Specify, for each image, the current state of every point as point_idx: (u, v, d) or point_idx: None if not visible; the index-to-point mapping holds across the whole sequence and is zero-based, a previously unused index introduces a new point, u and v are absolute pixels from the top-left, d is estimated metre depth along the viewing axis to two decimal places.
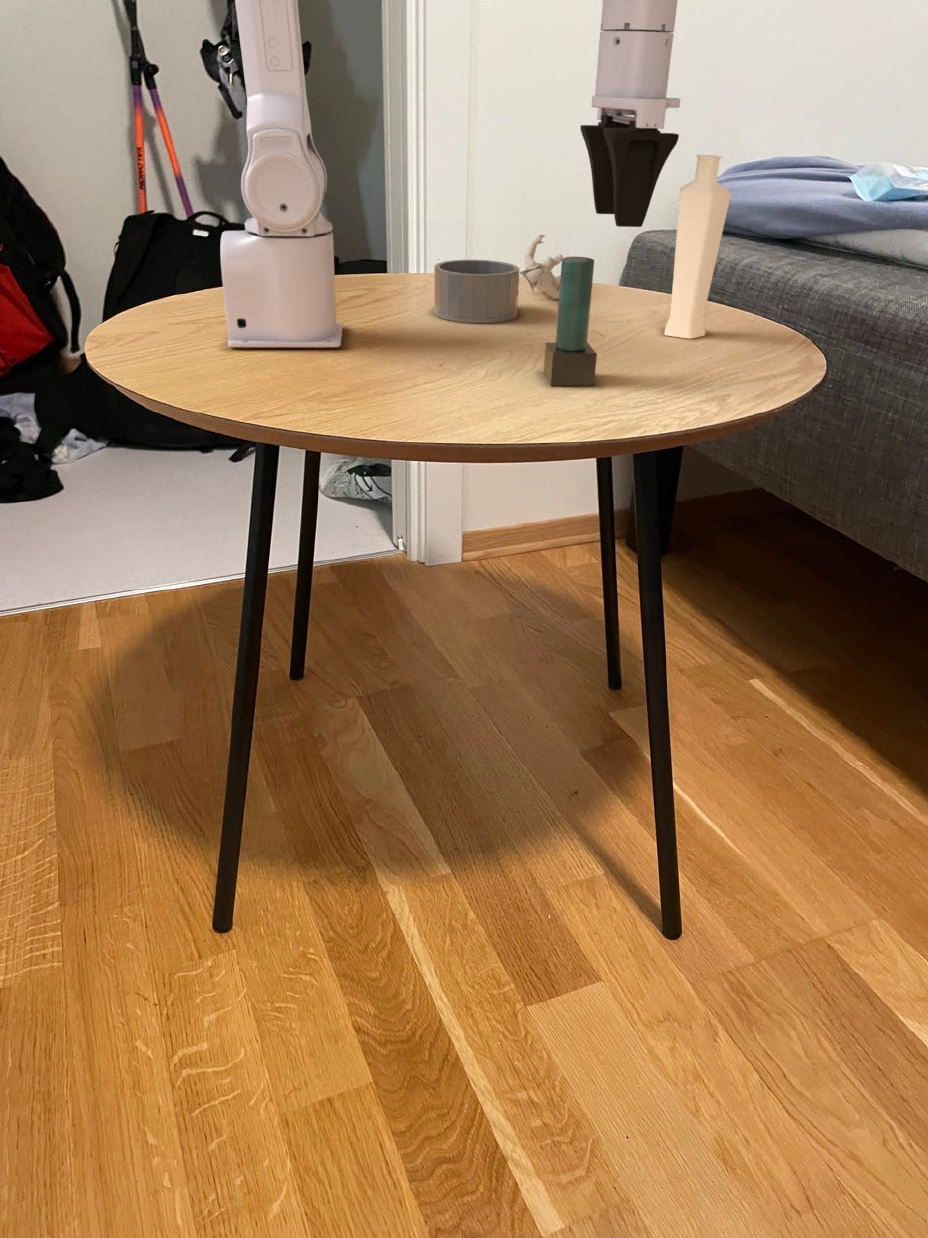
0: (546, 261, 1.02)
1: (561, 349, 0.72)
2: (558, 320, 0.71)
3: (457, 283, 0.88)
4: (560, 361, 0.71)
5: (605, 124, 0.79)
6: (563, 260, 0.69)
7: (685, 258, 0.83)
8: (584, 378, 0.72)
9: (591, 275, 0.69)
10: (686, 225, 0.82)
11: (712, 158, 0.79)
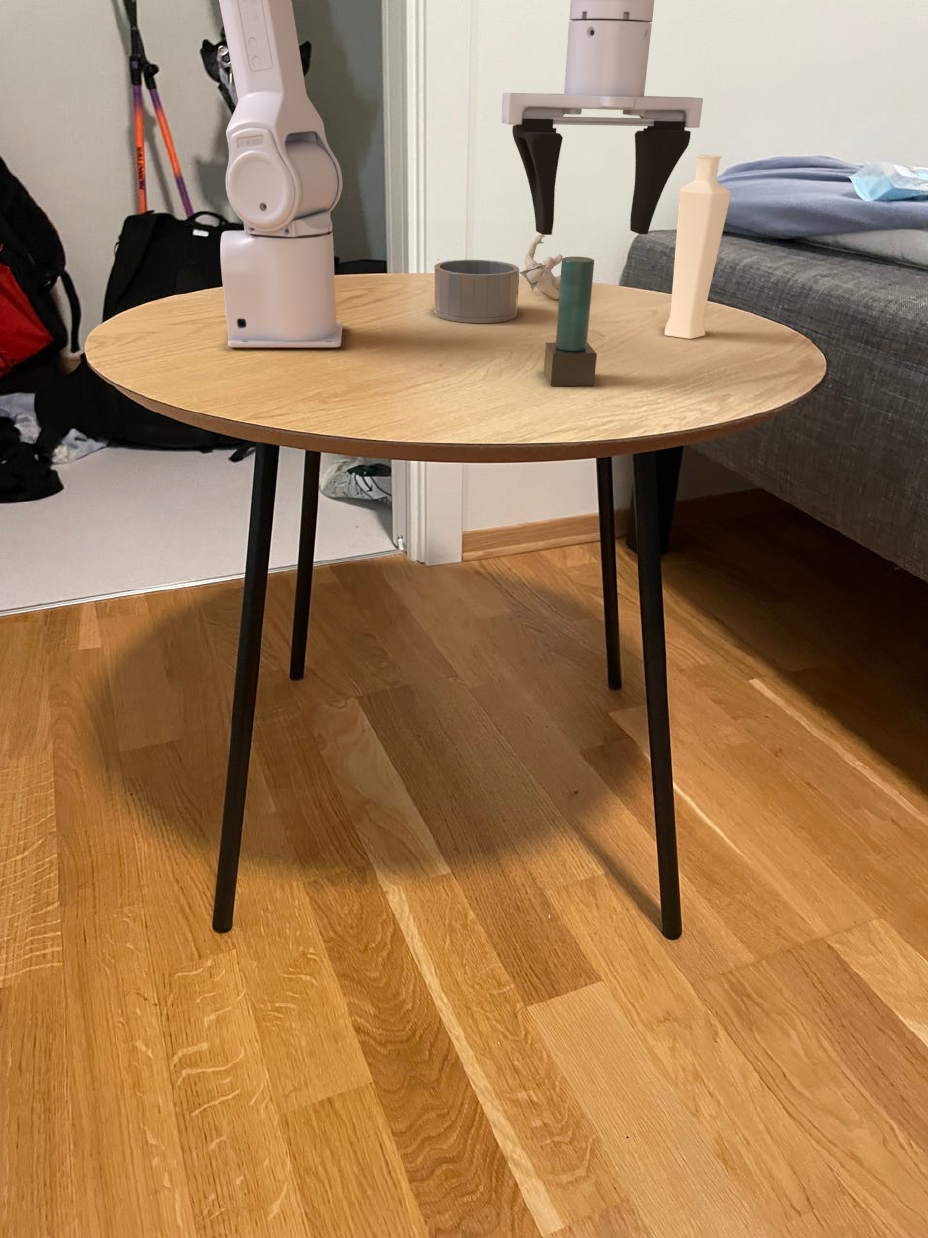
0: (546, 261, 1.02)
1: (561, 349, 0.72)
2: (558, 320, 0.71)
3: (457, 283, 0.88)
4: (560, 361, 0.71)
5: (644, 129, 0.69)
6: (563, 260, 0.69)
7: (685, 257, 0.83)
8: (584, 378, 0.72)
9: (591, 275, 0.69)
10: (686, 225, 0.82)
11: (712, 158, 0.79)
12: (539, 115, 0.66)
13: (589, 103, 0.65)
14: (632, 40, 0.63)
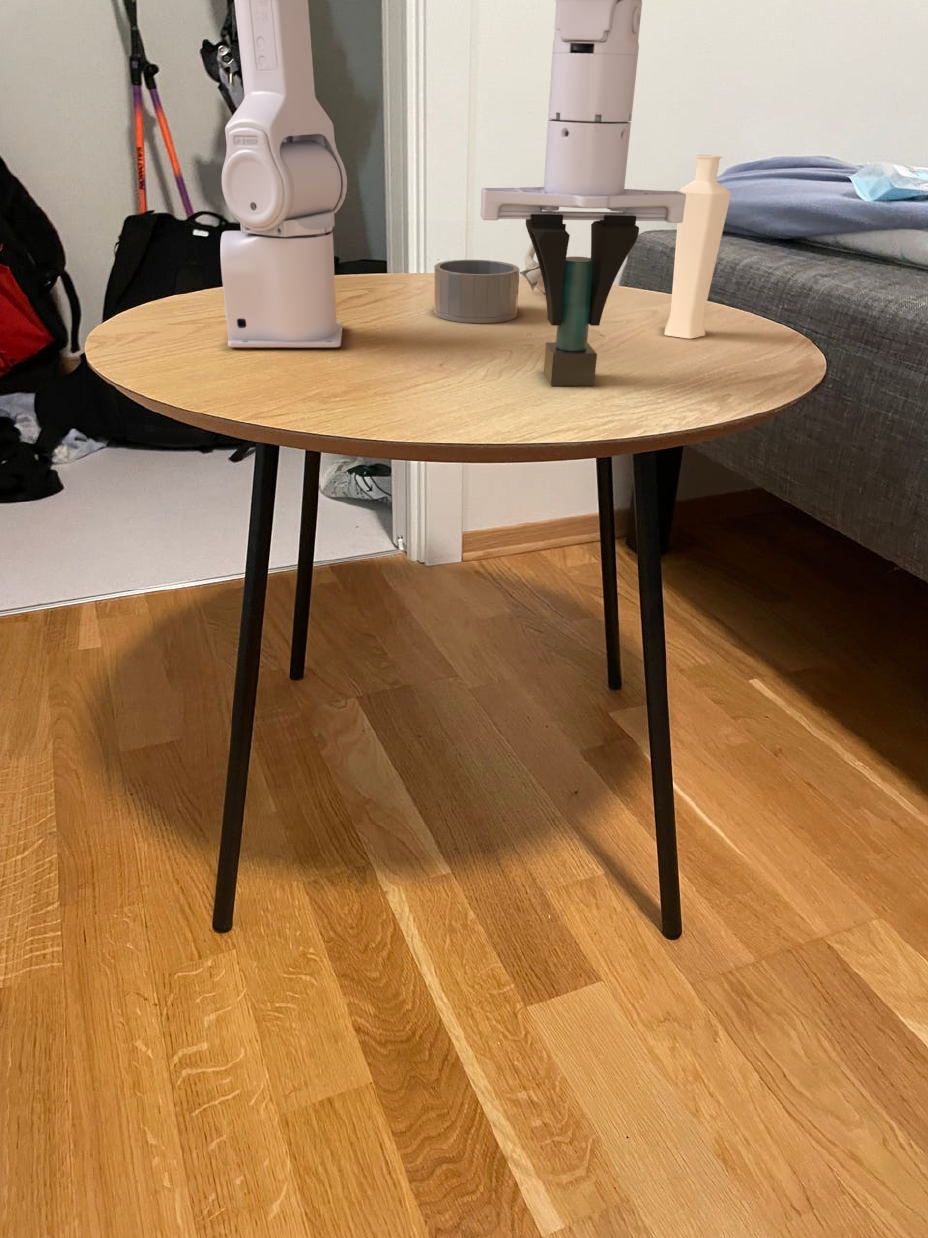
0: None
1: (561, 349, 0.72)
2: None
3: (457, 283, 0.88)
4: (560, 361, 0.71)
5: (597, 221, 0.69)
6: None
7: (685, 257, 0.83)
8: (584, 378, 0.72)
9: (591, 275, 0.69)
10: (686, 225, 0.82)
11: (712, 158, 0.79)
12: (516, 211, 0.67)
13: (563, 202, 0.64)
14: (607, 141, 0.63)
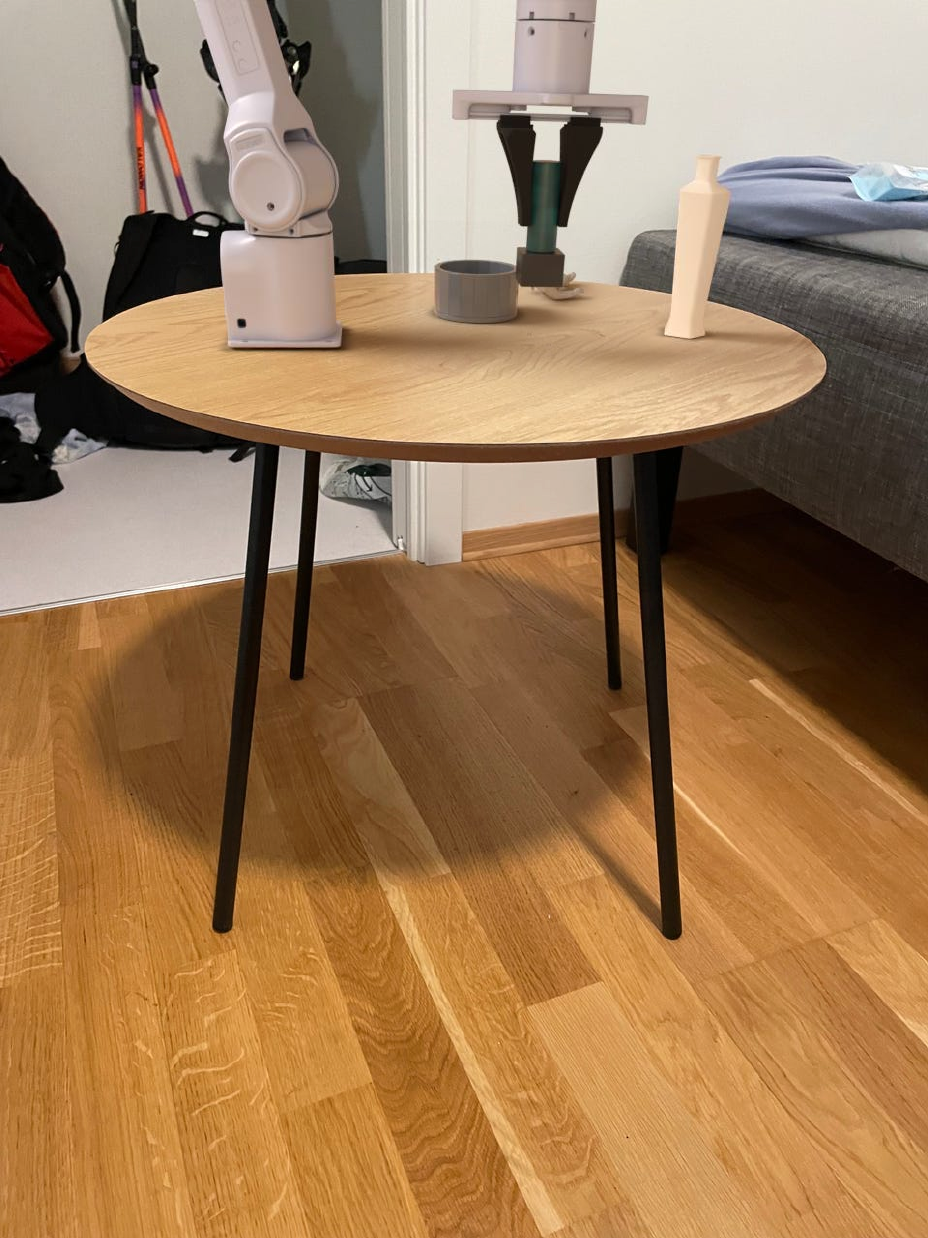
0: None
1: (531, 251, 0.75)
2: None
3: (457, 283, 0.88)
4: (529, 262, 0.74)
5: (564, 125, 0.72)
6: None
7: (685, 257, 0.83)
8: (553, 279, 0.75)
9: (559, 176, 0.72)
10: (686, 225, 0.82)
11: (712, 158, 0.79)
12: (486, 111, 0.70)
13: (530, 100, 0.67)
14: (570, 39, 0.66)
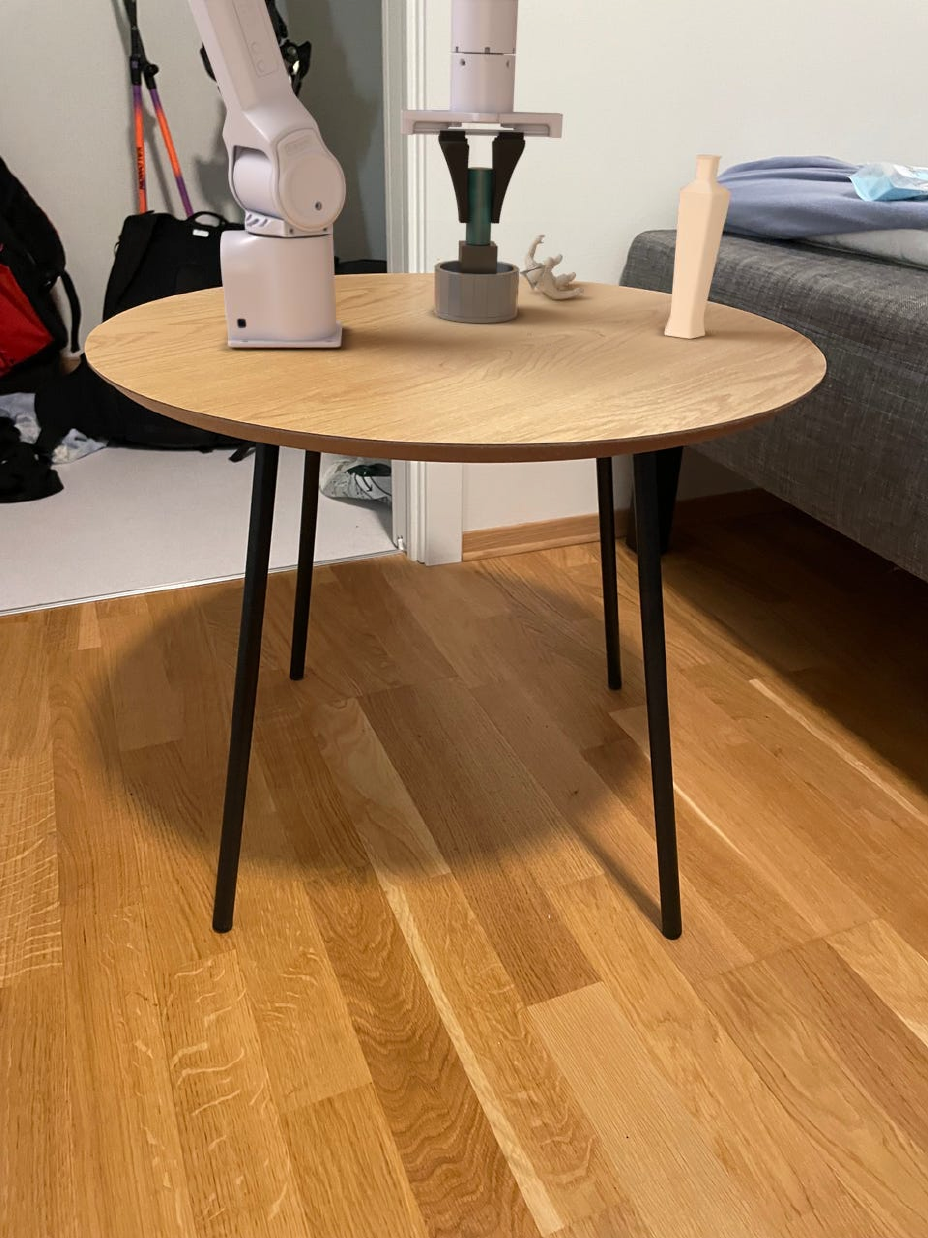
0: (546, 261, 1.02)
1: (469, 244, 0.89)
2: None
3: (457, 283, 0.88)
4: (468, 252, 0.88)
5: (495, 138, 0.86)
6: (468, 169, 0.86)
7: (685, 257, 0.83)
8: (488, 267, 0.89)
9: (491, 181, 0.86)
10: (686, 225, 0.82)
11: (712, 158, 0.79)
12: (428, 127, 0.84)
13: (463, 118, 0.82)
14: (495, 69, 0.80)
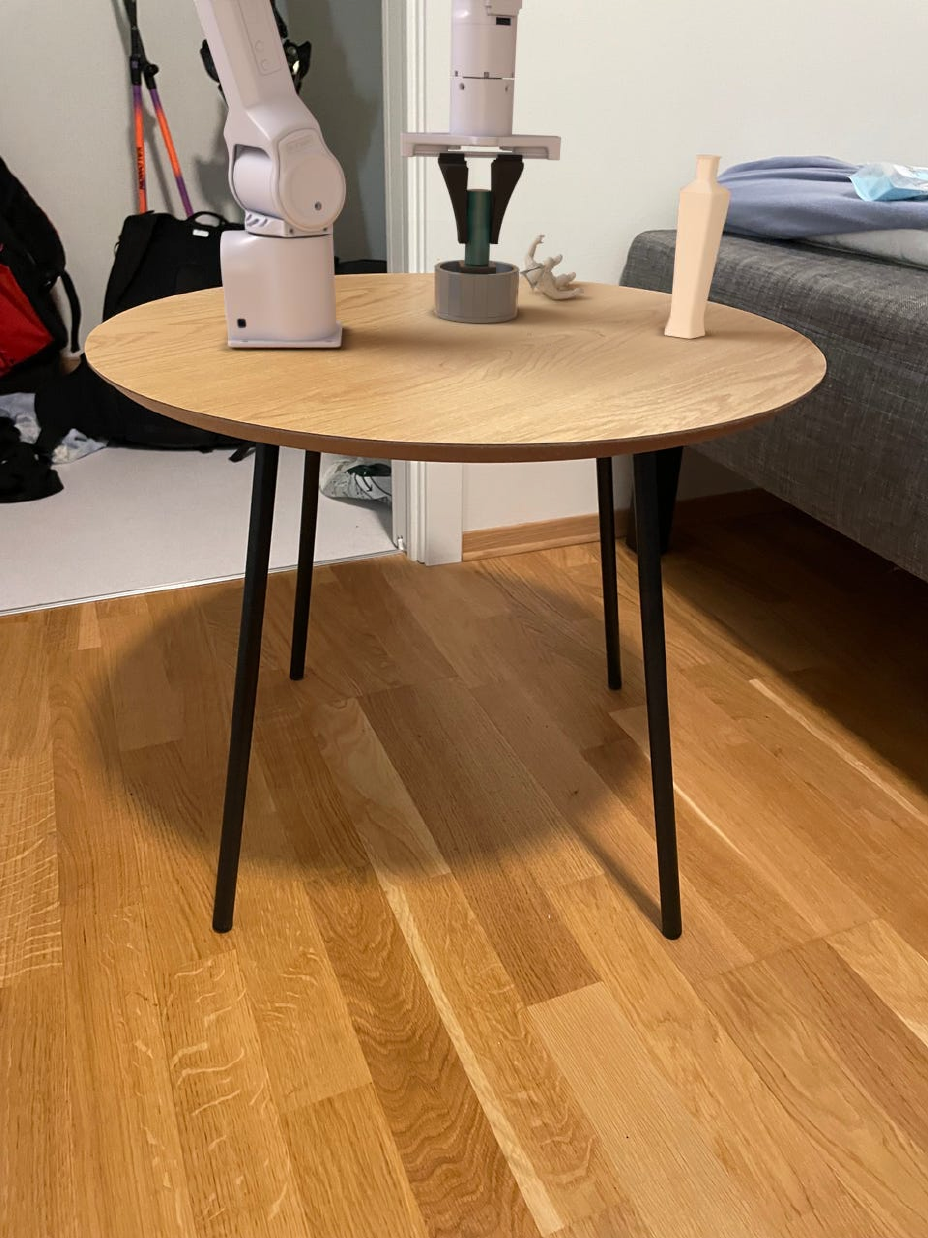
0: (546, 261, 1.02)
1: (468, 264, 0.90)
2: None
3: (457, 283, 0.88)
4: (467, 273, 0.89)
5: (493, 160, 0.87)
6: (467, 190, 0.87)
7: (685, 257, 0.83)
8: None
9: (489, 203, 0.87)
10: (686, 225, 0.82)
11: (712, 158, 0.79)
12: (428, 150, 0.85)
13: (462, 141, 0.83)
14: (494, 93, 0.81)
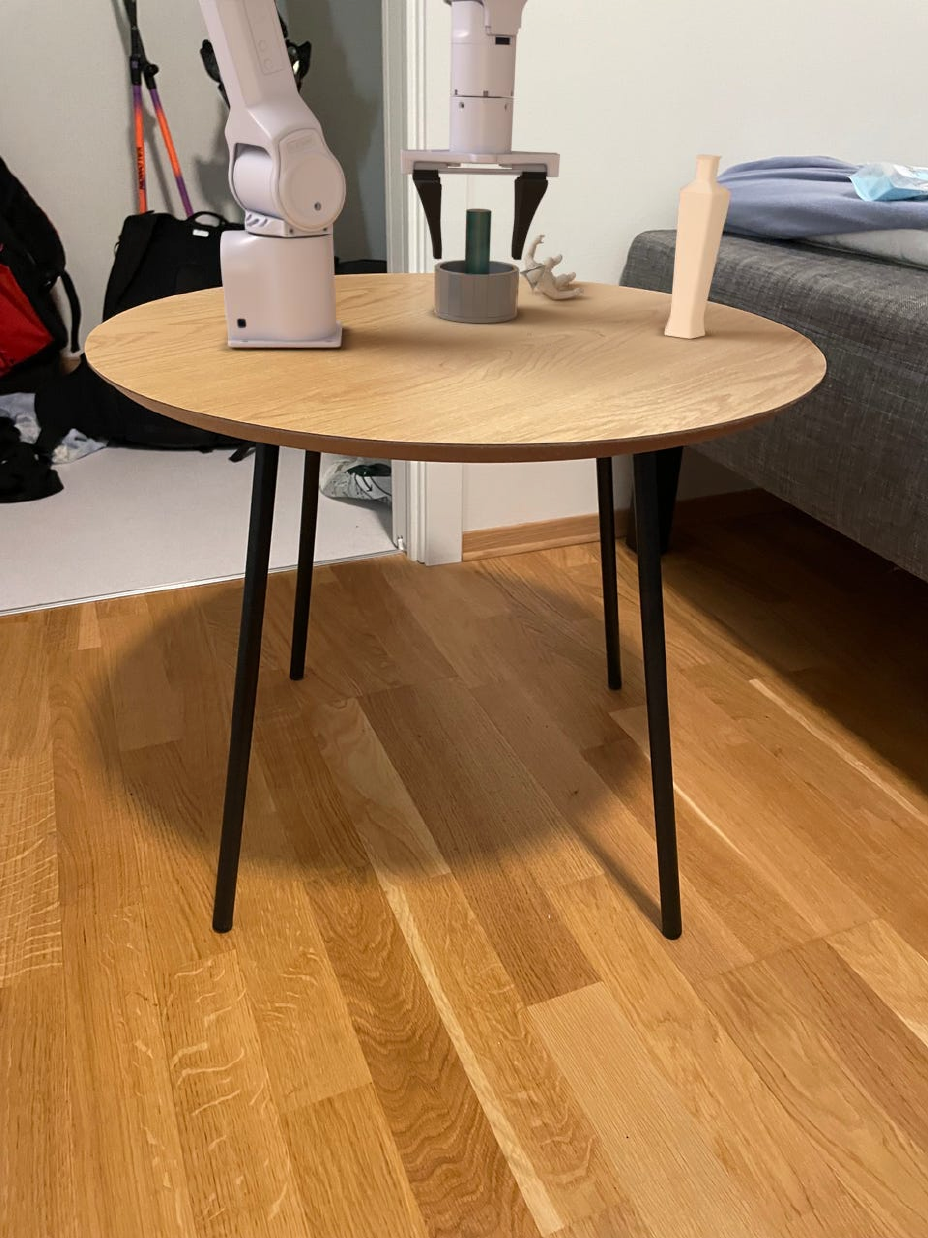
0: (546, 261, 1.02)
1: None
2: (465, 259, 0.90)
3: (457, 283, 0.88)
4: None
5: (517, 177, 0.88)
6: (467, 210, 0.88)
7: (685, 257, 0.83)
8: None
9: (489, 222, 0.88)
10: (686, 225, 0.82)
11: (712, 158, 0.79)
12: (428, 167, 0.85)
13: (462, 159, 0.83)
14: (493, 111, 0.81)
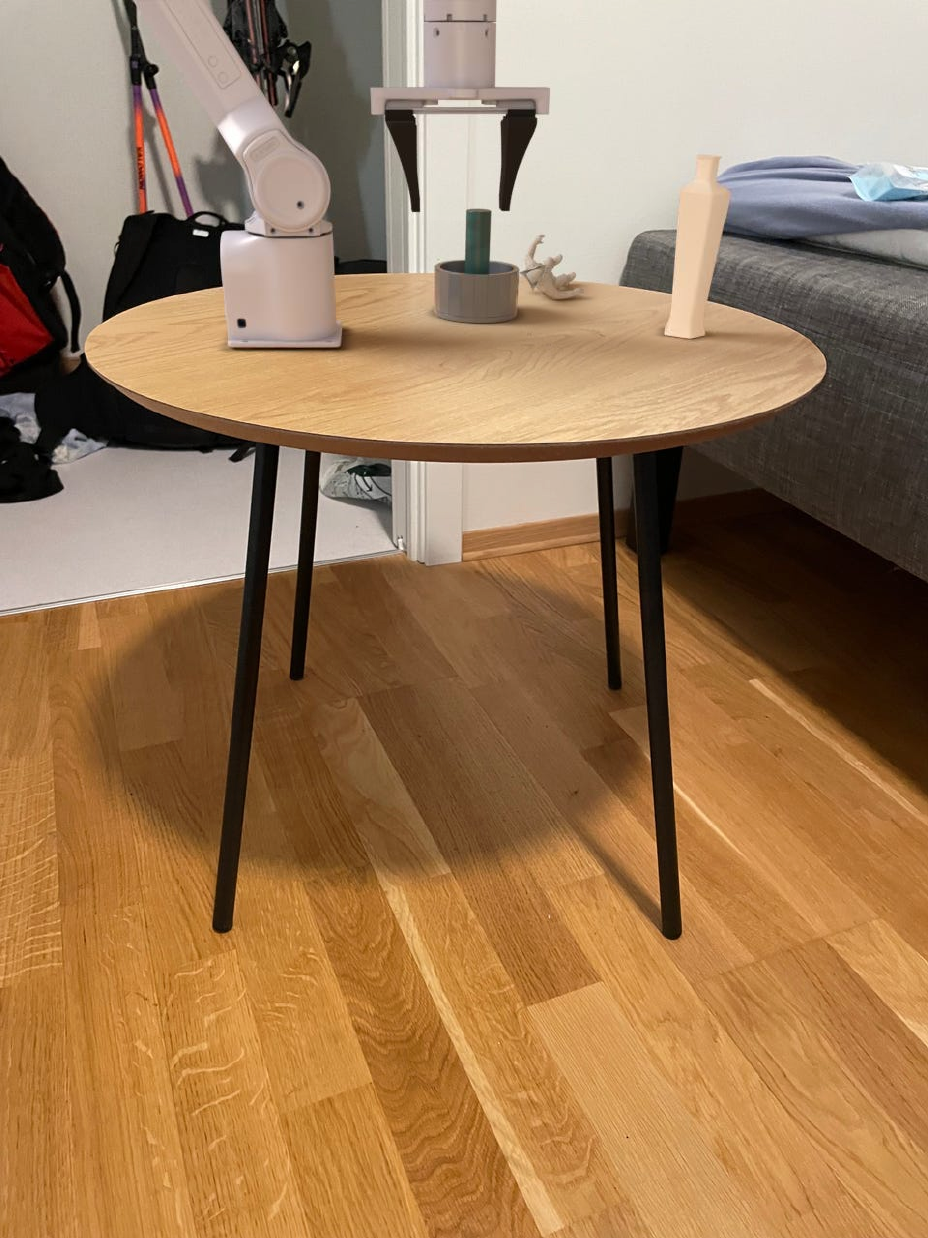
0: (546, 261, 1.02)
1: None
2: (465, 259, 0.90)
3: (457, 283, 0.88)
4: None
5: (503, 117, 0.78)
6: (467, 210, 0.88)
7: (685, 257, 0.83)
8: None
9: (489, 222, 0.88)
10: (686, 225, 0.82)
11: (712, 158, 0.79)
12: (401, 107, 0.76)
13: (439, 95, 0.74)
14: (472, 38, 0.72)
